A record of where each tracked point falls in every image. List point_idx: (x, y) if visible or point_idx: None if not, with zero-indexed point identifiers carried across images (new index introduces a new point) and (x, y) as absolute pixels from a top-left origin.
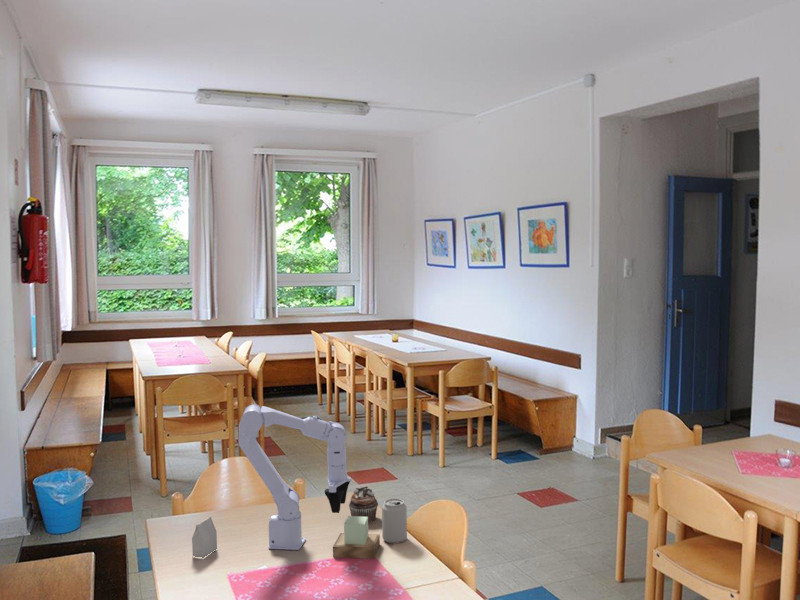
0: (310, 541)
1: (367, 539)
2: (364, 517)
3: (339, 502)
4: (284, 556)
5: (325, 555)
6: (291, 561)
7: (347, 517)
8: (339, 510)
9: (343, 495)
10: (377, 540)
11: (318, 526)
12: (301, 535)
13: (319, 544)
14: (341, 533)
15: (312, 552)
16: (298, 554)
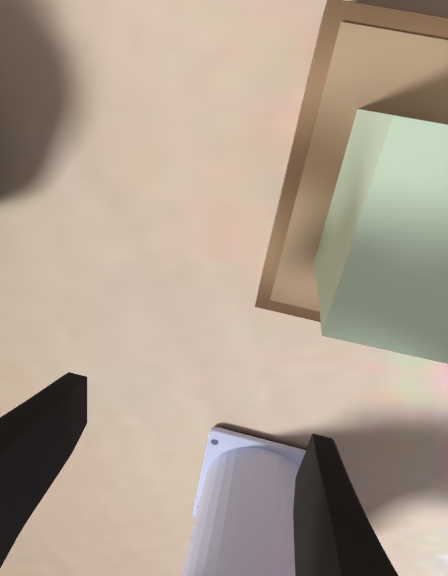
0: (230, 408)
1: (424, 115)
2: (410, 163)
3: (387, 560)
4: (377, 500)
5: (415, 356)
6: (440, 483)
7: (361, 343)
8: (335, 453)
9: (36, 446)
10: (434, 18)
11: (60, 371)
12: (257, 476)
13: (269, 375)
14: (263, 301)
15: (361, 407)
16: (369, 456)
